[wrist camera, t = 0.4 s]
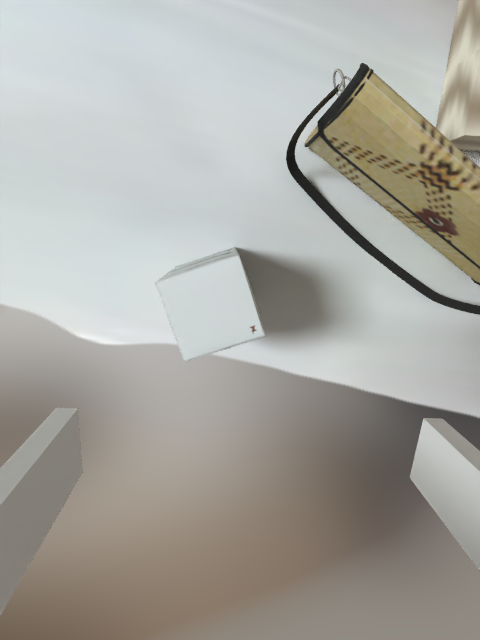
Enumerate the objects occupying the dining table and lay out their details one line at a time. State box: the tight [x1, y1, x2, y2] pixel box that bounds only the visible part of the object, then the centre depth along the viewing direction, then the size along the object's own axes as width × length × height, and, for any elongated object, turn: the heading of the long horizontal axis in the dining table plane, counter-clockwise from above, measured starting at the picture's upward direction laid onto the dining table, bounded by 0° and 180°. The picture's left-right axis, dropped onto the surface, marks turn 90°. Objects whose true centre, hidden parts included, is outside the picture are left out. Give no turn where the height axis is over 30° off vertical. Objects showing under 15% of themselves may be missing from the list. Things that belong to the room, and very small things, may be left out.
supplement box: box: [155, 247, 266, 361], centre depth 33 cm, size 7×7×13 cm
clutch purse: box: [286, 63, 480, 314], centre depth 31 cm, size 30×7×15 cm, turn 56°
